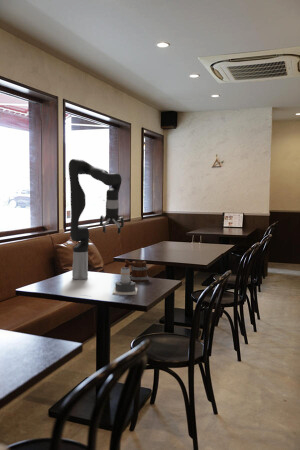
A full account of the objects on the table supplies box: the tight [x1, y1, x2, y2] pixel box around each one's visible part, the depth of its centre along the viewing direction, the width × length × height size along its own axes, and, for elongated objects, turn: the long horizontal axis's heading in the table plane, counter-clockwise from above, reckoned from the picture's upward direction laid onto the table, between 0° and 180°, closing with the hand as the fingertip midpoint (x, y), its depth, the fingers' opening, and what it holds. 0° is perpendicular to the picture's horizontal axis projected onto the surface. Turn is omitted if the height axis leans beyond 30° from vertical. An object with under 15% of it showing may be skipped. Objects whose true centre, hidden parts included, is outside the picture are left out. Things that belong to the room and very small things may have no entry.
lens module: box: [120, 266, 131, 284], centre depth 229 cm, size 5×5×12 cm
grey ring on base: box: [112, 280, 138, 296], centre depth 229 cm, size 13×13×5 cm
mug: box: [124, 259, 149, 283], centre depth 260 cm, size 12×14×15 cm
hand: (111, 233), depth 250 cm, fingers open, 8 cm apart
